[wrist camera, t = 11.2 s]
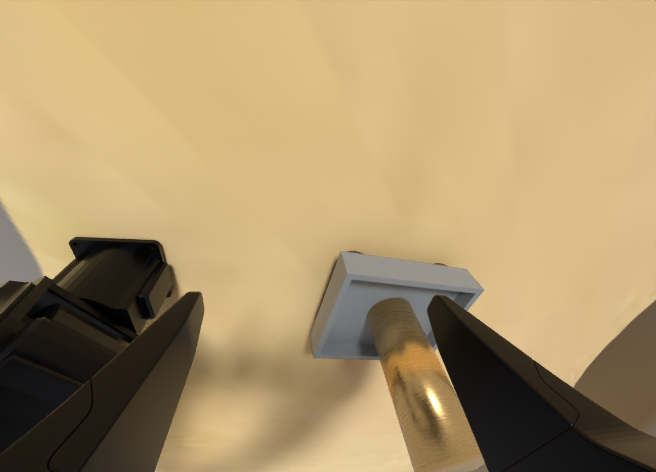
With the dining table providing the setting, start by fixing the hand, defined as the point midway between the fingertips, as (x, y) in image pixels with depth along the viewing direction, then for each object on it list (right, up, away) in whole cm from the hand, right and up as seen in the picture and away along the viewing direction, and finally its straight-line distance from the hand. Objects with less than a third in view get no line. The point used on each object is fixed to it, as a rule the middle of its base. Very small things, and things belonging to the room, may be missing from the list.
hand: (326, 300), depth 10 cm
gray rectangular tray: (+6, -4, +20) cm, 21 cm away
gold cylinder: (+7, -6, +17) cm, 19 cm away
